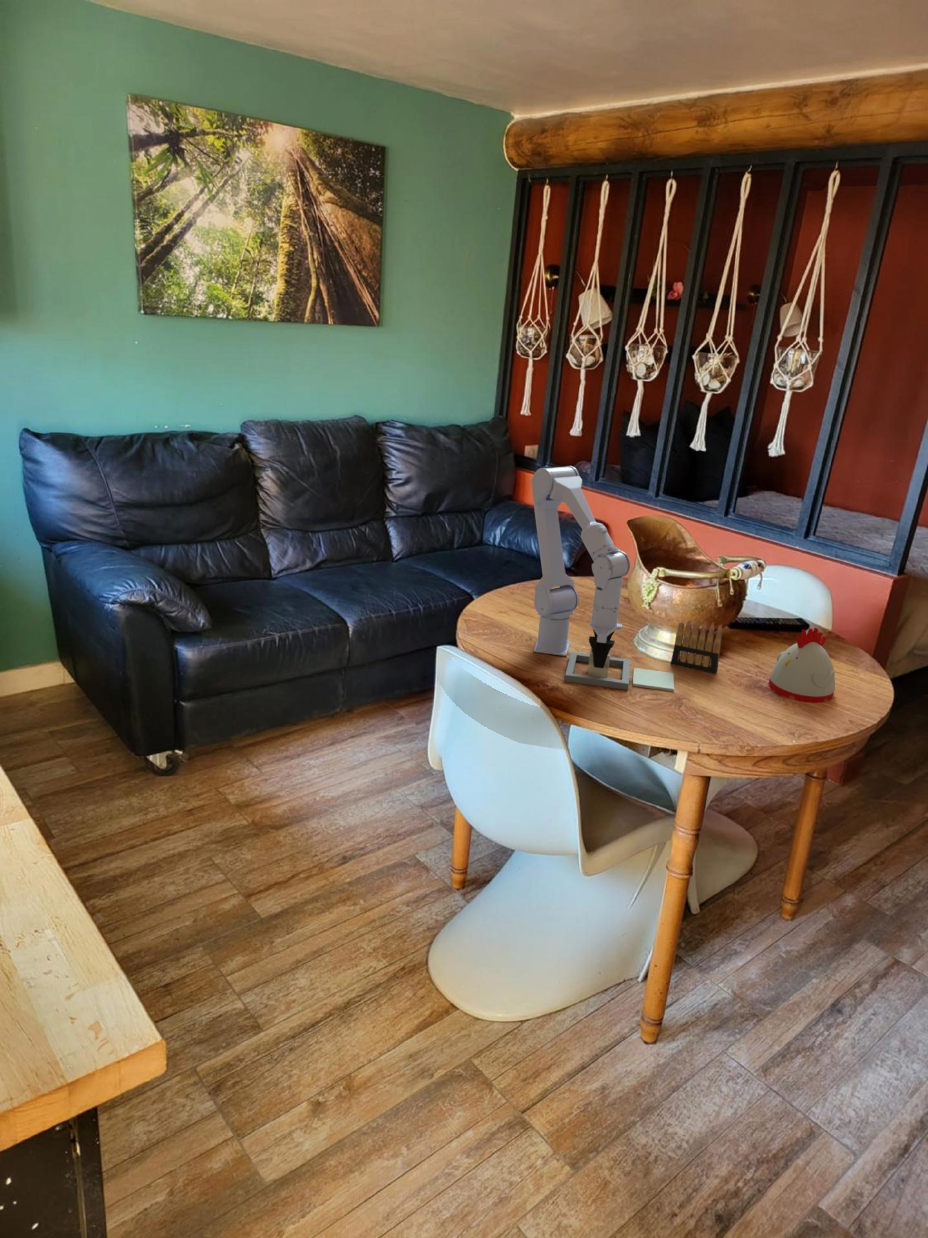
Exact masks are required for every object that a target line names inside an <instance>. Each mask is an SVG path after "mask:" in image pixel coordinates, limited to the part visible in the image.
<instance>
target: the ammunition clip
mask: <svg viewBox="0 0 928 1238" xmlns="http://www.w3.org/2000/svg"><path fill="white" fill-rule="evenodd" d="M684 625H685V622H684V623H682V622H681V623H678V627H677V632H676V633H675V638H674V639H675V640H674V647H673V651H672V656H671V661H670V665H673V666H677V667H682V668H686V669H692V670H695V671H700V672H706V673H710V674H717V673H718V668H719V659H720V652H721V647H722V637H723V636H722V635H723V626H722V625H723V624H720V625H718V628H717V630H716V635H714V634H715V624H714V622H712V623H711V624H710V627H709V630H708V634H707V622H706V621H704V622H703V623H702V625H701V629H700V628H699V627H700V623H699V619H697V620H696V621H695V623H694V625H693V629H692V620H691V621H688V620H687V622H686V626H685V630H684ZM699 629H700V630H699ZM691 631H692V632H691ZM699 631H700V632H699ZM699 633H700V634H699ZM706 636H707V637H706ZM714 636H715V639H714Z"/></svg>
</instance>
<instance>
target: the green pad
mask: <svg viewBox="0 0 928 1238" xmlns="http://www.w3.org/2000/svg"><path fill="white" fill-rule="evenodd" d="M674 679H675V678H674V673H673V672H666V671H659V670H654V669H653V670H652V669H647V668H646V669H645V668H640V667H639V668H638V667H637V668H636V667H633V674H632V686H633V687H639V688H645V689H651V690H659V691H668V692H675V682H674Z"/></svg>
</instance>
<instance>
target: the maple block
mask: <svg viewBox="0 0 928 1238" xmlns="http://www.w3.org/2000/svg"><path fill="white" fill-rule="evenodd" d="M611 651H612V650H610V651H609V653H608V656H607V659H606V662H605V665H604V668H596V667H594V664H593V652H592V648H591V647H590V651H589V654H590V658H589V662H588V668H587V675H589V676H596V677H603V678H609V677H608V675H609V668H610V665H609V661H610V657H611V653H612V652H611Z"/></svg>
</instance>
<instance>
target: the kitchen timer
mask: <svg viewBox="0 0 928 1238" xmlns="http://www.w3.org/2000/svg"><path fill="white" fill-rule="evenodd" d="M813 628H814V629H813ZM813 628H809V629H808V631H807V630H805V629H802V630H801V633H800V636H799V635H797V634H796V635H795V640H796V643H793V645H791V646H790V647H788V648H787V649H786V650H784V651H781V652H780V653H779V654H777V657H776V663H775V665H774V666H773V668H772V671H771V673H770V676H769V680H768V686H769V688H770V689H771V690H772V691H774V692H775V693H777V694H778V695H780V696H782V697H783V698H784V697H785V698H786V699H790V700H793V701H797V702H802V703H810V704H820V703H821V704H823V703H826V702H827V703H828V702H829V701H831V700H833V697H834V693H835V689H836V676H835V671H834V669H835V668H834V666H833V662H832V659H831V657H830V655H829V653H828V652H827V650H826V649H825V648H824V647H823V646H824V644H825V642H826V641H827V639H828V638H827V636H825V635H824V632H822V631H819V628H817V627H813Z"/></svg>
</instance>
